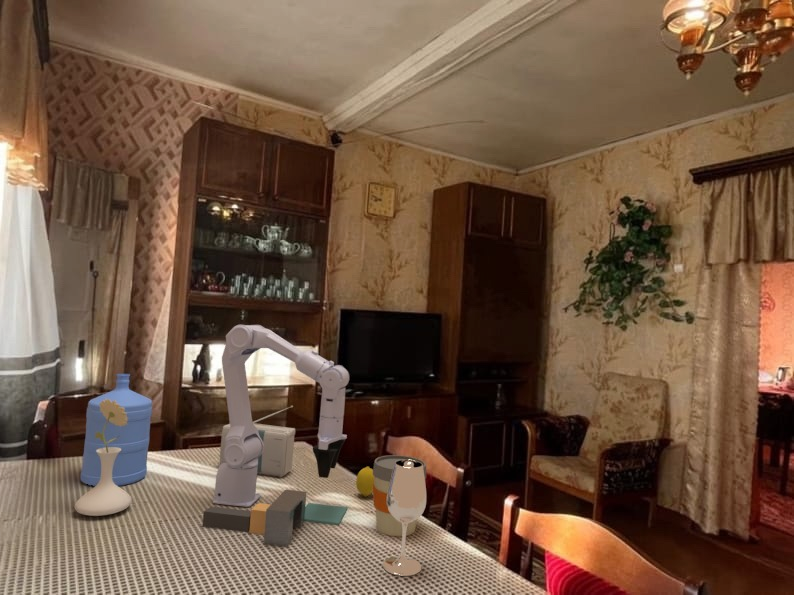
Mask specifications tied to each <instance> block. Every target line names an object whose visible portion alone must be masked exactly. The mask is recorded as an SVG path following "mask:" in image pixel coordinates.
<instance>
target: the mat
mask: <svg viewBox="0 0 794 595" xmlns="http://www.w3.org/2000/svg"><path fill="white" fill-rule="evenodd" d="M347 511H348V506H341V505H340V506H339V505H330V504H324V503H313V502H312V503H311V502H308V503H307V504H306V505H305V518H304V522H309V523H317V524H325V525H326V524H327V525H333V526H334V525H335V526H336V525H337V526H340V524H341V522H342V520H343V519H344V517H345V515H346V513H347Z"/></svg>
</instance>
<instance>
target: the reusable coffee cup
mask: <svg viewBox="0 0 794 595" xmlns="http://www.w3.org/2000/svg"><path fill="white" fill-rule="evenodd" d="M398 460H414V461H418V462H421V463H422V464H423V470H424V477H425V480H426V479H427V464H426V462H425V461H424V460H422V459H419V458H417V457H413V456H406V455H398V454H396V455H395V454H394V455H393V454H392V455H382V456H379V457H377V458H375V459H374V463H373V468H372V470H373V475H374V484H373V493H372V496H373V497H372V498H373V499H372V500H373V506H374V508H375V519H376V520H375V522H376V529H377V530H378V531H379V532H380V533H382V534H384V535H386V536H390V537H391V536H392V537H402V523H401V522H399V521H397V520H396V519H395V518H394V517H393V516H392V515H391V514H390V512H389V510H388V507H387V492H388V487H389V482H390V478H391V475H392V471H393V468H394V464H395V462H396V461H398ZM417 522H418V519H417V520H415V521H413V522H411V523H408V526H407V530H406V537H407V536H411V535H412V534H413V533H414V532H416V528H417Z"/></svg>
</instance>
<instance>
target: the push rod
mask: <svg viewBox="0 0 794 595" xmlns="http://www.w3.org/2000/svg"><path fill="white" fill-rule="evenodd" d="M250 518H251V510H247V509H246V510H245V509H237V508H229V507H223V506H222V507H221V506H212V505H210V506H209V507H208V508H206V509H205V510H204V511H203V517H202V527H204V528H209V529H210V528H211V529H219V530H220V529H221V530H227V531H237V532H242V533H243V532H245V533H249V530H250Z"/></svg>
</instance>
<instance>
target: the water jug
mask: <svg viewBox="0 0 794 595" xmlns="http://www.w3.org/2000/svg"><path fill="white" fill-rule="evenodd" d="M130 376H131V374H130V373H116V377H117V378H116V381H115V383H116V385H115V388H114V389H113V390H110V391H109V392H105V393H104V394H101V395H98V396H97V397H94V398H91V399H90V400H89V401H88V403H87V407H86V413H85V414H86V415H85V417H86V423H85V436H84V437H85V439H84V445H83V446H84V448H83V455H82V464H81V465H82V466H81V471H80V481H81V482H82V483H84V484H86V485H87V484H88V486H91V485H93V486H92V487H95V486H96V485H97V484H98V483H99V481H100V478H101V459H100V456H99V455H98V453H97V452H96V450H98V449H100V448H105V444H104V440H103V441H102V440H100V439H99V438H96V437H94V436H95V435H96V433H97V431H98V432H100V433H101V434H102V432H103V428H104V425H105V423H106V421H107V419H106V417H105V416H104V415H103V413H102V412H101V411H100V402H101V401H105V399H110V401H111V402H112V401H113V400H115V401H116V403H117V404H119V405H120V406H121V407H122V408H124V409H125V411H124V412H125V413H126V414H127V418H128V420H127V425H124V426H121V427H120V426H116V425H115V424H114V423H111V422H110V421H108V423H107V425H106V427H105V430H104V438H105V441H106V443H107V442H108V441H110V440H112V439H114V438H116V439H115V440H113V441H111V442H109V443H107V447H117V448H121V451H120V452H119V453H118V455H117V456H116V458H115V461H114V465H113V470H112V480H113V482H114V484H115V485H117V486H118V487H121V486H126V485H130V484H134V483H136V482H138V481H141V480H143V479H144V478H145V477H146V475H147V473H148V472H147V469H148V466H147V465H148V464H147V462H148V455H149V454H148V452H149V451H148V450H149V446H150V430H151V418H152V414H153V401H152V399H150V398H149V397H146V396H144V395H142V394H140V393H138V392H135V391H133V390H131V389H130V387H129V385H130ZM101 403H102V402H101ZM121 407H120V408H121ZM118 436H119V437H118ZM117 437H118V438H117Z"/></svg>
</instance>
